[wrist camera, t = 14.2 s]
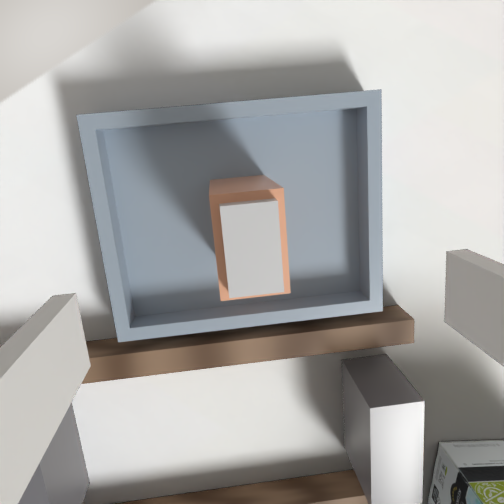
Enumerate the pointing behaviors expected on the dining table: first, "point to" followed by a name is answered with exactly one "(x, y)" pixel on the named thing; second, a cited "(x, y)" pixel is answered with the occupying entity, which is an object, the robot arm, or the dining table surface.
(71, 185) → the dining table surface
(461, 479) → the tea box
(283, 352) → the rails
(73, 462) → the inner charcoal block
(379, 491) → the outer charcoal block
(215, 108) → the tray
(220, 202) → the white orange rectangular block
